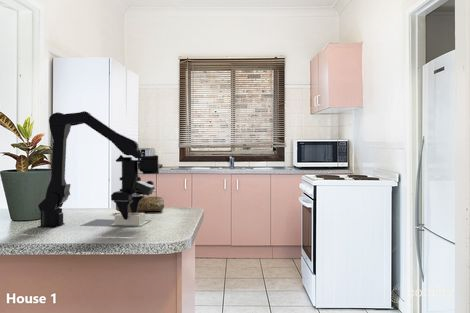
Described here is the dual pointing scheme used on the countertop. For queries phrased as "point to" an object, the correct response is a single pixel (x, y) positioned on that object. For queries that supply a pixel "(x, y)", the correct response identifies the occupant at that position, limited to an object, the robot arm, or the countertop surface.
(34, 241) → the countertop surface
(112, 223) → the mat
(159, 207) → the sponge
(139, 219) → the card box
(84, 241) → the countertop surface
